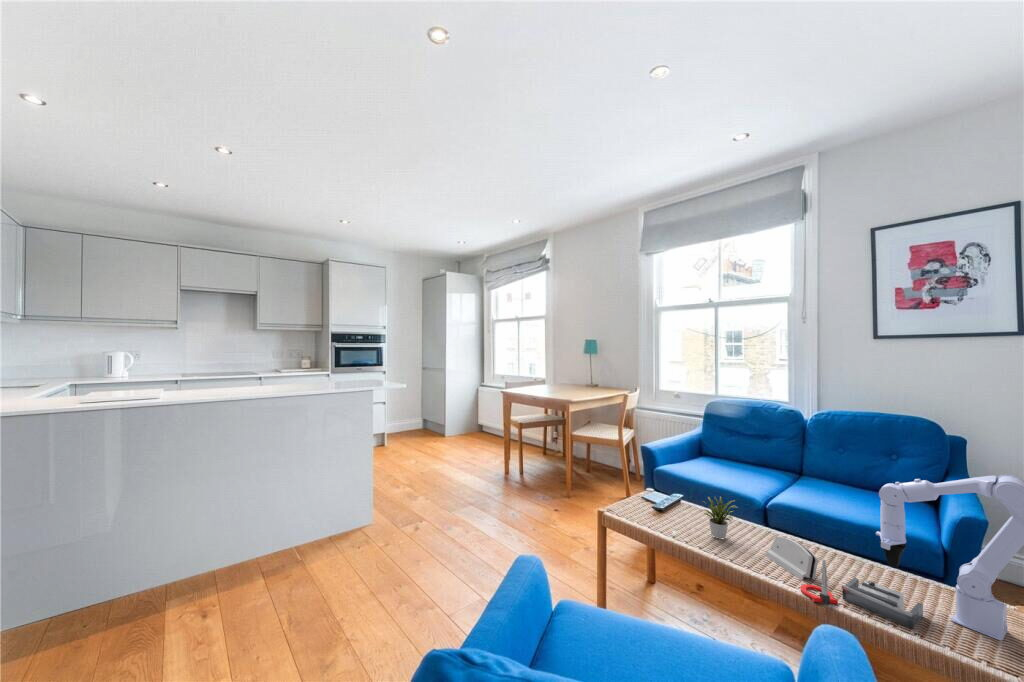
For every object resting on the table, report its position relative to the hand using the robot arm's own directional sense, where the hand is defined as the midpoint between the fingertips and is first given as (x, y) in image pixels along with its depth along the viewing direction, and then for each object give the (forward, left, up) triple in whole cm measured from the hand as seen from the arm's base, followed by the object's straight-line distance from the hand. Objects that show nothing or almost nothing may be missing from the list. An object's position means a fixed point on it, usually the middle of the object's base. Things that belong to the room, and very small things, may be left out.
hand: (893, 565), depth 129 cm
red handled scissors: (+13, +20, -10) cm, 26 cm away
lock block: (0, +10, -10) cm, 14 cm away
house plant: (+51, +8, -10) cm, 53 cm away
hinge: (+25, +8, -10) cm, 28 cm away
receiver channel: (0, +11, -10) cm, 14 cm away
